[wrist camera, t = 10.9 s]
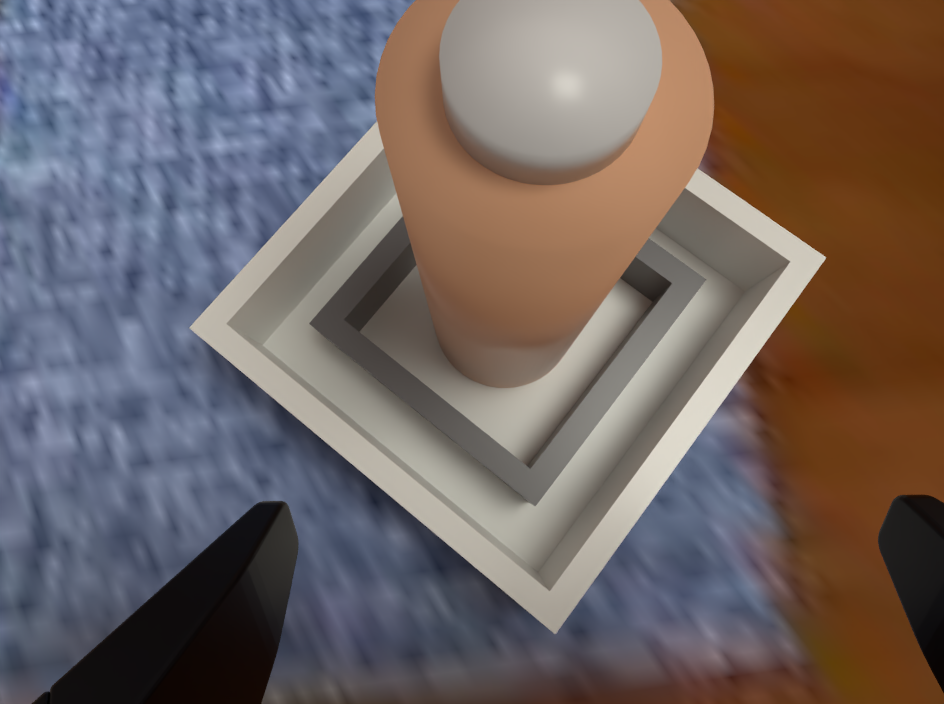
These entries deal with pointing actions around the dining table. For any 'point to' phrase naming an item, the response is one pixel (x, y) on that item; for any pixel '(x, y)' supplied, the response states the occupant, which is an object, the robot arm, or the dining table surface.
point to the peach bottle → (535, 161)
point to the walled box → (517, 408)
